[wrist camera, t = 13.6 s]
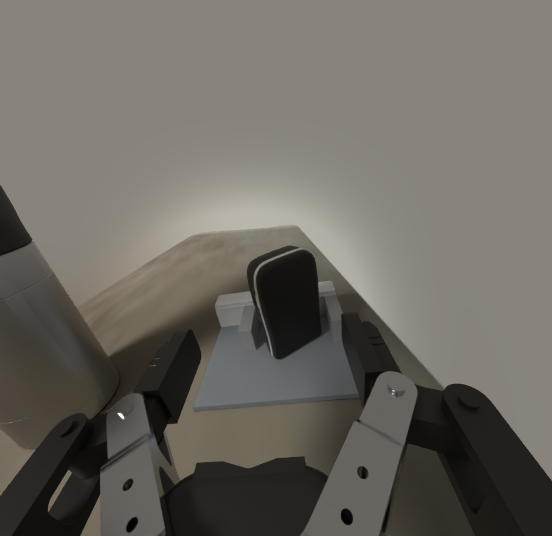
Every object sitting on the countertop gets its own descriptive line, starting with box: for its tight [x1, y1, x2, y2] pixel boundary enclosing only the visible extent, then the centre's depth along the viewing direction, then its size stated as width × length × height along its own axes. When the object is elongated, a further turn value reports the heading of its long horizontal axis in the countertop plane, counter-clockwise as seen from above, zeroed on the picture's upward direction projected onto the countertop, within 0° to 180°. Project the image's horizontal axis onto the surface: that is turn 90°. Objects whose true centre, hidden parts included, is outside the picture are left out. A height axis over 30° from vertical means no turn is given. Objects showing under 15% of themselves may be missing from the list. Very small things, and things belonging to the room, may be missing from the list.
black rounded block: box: [247, 246, 322, 359], centre depth 26 cm, size 7×4×11 cm, turn 121°
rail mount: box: [193, 281, 360, 411], centre depth 27 cm, size 16×14×4 cm
